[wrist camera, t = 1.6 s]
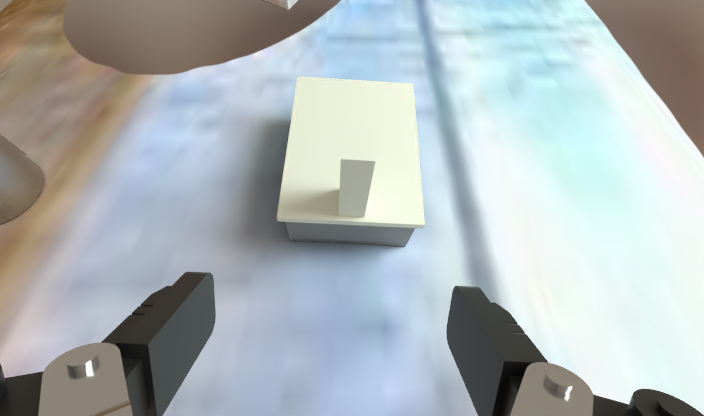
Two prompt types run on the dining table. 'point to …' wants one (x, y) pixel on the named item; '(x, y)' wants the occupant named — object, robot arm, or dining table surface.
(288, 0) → the light bulb box
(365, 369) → the dining table surface
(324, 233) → the tub
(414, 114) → the lid
